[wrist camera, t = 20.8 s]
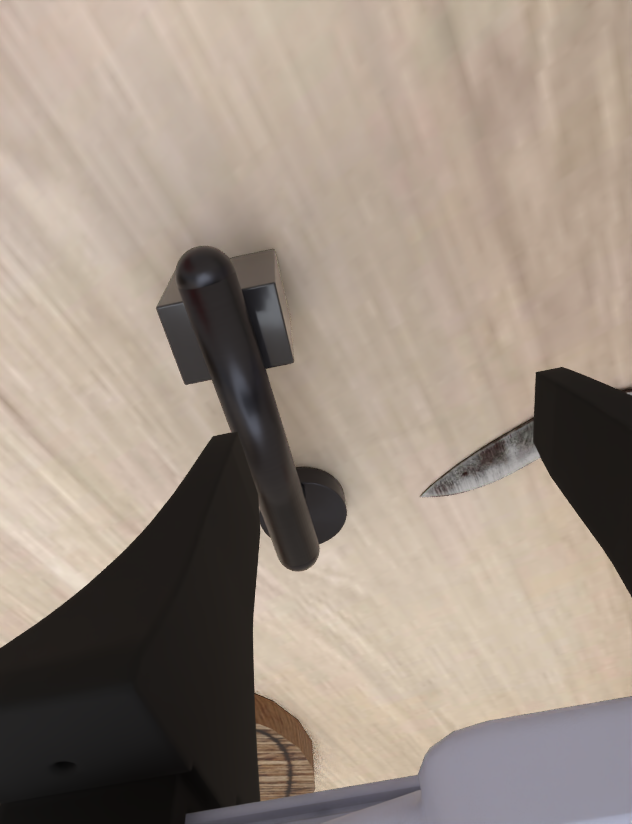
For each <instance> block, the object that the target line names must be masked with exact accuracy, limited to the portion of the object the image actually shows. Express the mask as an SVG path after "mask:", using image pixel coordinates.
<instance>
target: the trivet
mask: <svg viewBox="0 0 632 824" xmlns="http://www.w3.org/2000/svg"><path fill="white" fill-rule="evenodd" d="M255 718H256V737H257V756H258V773H259V787H260V801H266V800H272V799H278V798H284V797H289V796H295V795H301V794H307V793H313V792H314V790H315V782H314V765H313V752H312V741H311V740H310V738H309V736H308V735H307V733H306V732H305V730H304V729H303V727H302V726H301V724H300V722H299V721H298V720H297V719H296V718H294V717H293V716H292V715H290V714H289V713H288V712H286V711H285V710H284V709H282V708H281V707H280V706H278V705H277V704H276V703H274V702H273V701H271V700H268V699H266V698H264V697H261V696H259V695H256V694H255Z"/></svg>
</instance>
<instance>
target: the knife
mask: <svg viewBox="0 0 632 824" xmlns="http://www.w3.org/2000/svg"><path fill="white" fill-rule="evenodd" d="M623 392H625V393H627V394H630V395H632V389H630V390H625V391H623ZM533 428H534V418H533V419H531V420H529V421H528V422H526V423H524V424H522V425H521V426H519V427H517V428H516V429H514V430H512V431H510V432H509V433H507V434H505V435H503V436H502V437H500V438H498V439H496V440H495V441H493V442H491V443H490V444H488V445H486V446H485V447H483V448H482V449H480V450H479V451H477V452H476V453H474V454H473V455H471V456H470V457H468V458H467V459H466V460H464V461H463V462H461V463H460V464H458V465H457V466H456V467H454V468H453V469H451V470H450V471H449V472H448V473H446V474H445V475H444V476H442V477H441V478H440V479H439V480H437V481H436V482H435V483H434V484H432V485H431V486H430V487H429V488H428V489H427V490H426V491H425V492H424V493H423V494H422V496H421V497H438V496H448V495H454V494H459V493H463V492H466V491H470V490H473V489H476V488H479V487H482V486H485V485H487V484H490V483H492V482H495V481H497V480H499V479H502V478H504V477H506V476H508V475H510V474H512V473H514V472H515V471H517V470H519V469H521V468H523V467H525V466H526V465H528V464H530V463H532V462H533V461H535V460H537V459H538V458H540V455H539V453H538V451H537V449H536V447H535V445H534V443H533Z"/></svg>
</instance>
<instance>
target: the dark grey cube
mask: <svg viewBox="0 0 632 824" xmlns="http://www.w3.org/2000/svg"><path fill="white" fill-rule="evenodd" d="M229 259H230V260H231V262H232V263H233V265H234V268H235V271H236V274H237V277H238V280H239V284H240V287H241V290H242V293H243V297H244V300H245V303H246V307H247V310H248V313H249V316H250V320H251V323H252V326H253V330H254V333H255V336H256V339H257V343H258V346H259V349H260V352H261V356H262V359H263V362H264V366H265V369H266V368H271V367H276V366H281V365H286V364H291V363H294V353H293V340H292V327H291V317H290V312H289V308H288V304H287V299H286V295H285V291H284V286H283V282H282V278H281V273H280V269H279V265H278V260H277V256H276V252H275V249H270V250H265V251H260V252H256V253H251V254H246V255H242V256H237V257H232V258H229ZM175 271H176V270H175ZM175 271H174V273H173V275H172V277H171V279H170V281H169V283H168V285H167V287H166V289H165V291H164V293H163V295H162V297H161V299H160V301H159V303H158V305H157V307H156V310H157V312H158V315H159V318H160V320H161V323H162V326H163V328H164V331H165V334H166V336H167V339H168V342H169V344H170V347H171V350H172V352H173V355H174V358H175V360H176V363H177V366H178V368H179V371H180V373H181V376H182V379H183V381H184V384H185V385H188V384H193V383H197V382H202V381H207V380H212V379H211V376H210V373H209V371H208V368H207V365H206V363H205V360H204V357H203V355H202V352H201V349H200V347H199V344H198V341H197V339H196V336H195V333H194V331H193V328H192V325H191V323H190V320H189V317H188V314H187V312H186V309H185V306H184V304H183V301H182V298H181V296H180V293H179V290H178V288H177V284H176V281H175Z"/></svg>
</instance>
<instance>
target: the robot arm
mask: <svg viewBox="0 0 632 824" xmlns="http://www.w3.org/2000/svg"><path fill="white" fill-rule="evenodd" d="M533 443H534V445H535V447H536V449H537V451H538V453H539V455H540V457H541V459H542V461H543V463H544V465H545V467H546V469H547V470H548V472H549V474H550V476H551V477H552V479H553V480H554V482H555V483H556V485H557V486H558V487H559V489H560V490H561V492H562V493H563V494H564V496H565V497H566V499H567V500H568V501H569V503H570V504H571V506H572V507H573V508H574V510H575V511H576V512H577V514H578V515H579V517H580V518H581V519H582V521H583V522H584V523H585V525H586V526H587V528H588V529H589V530H590V532H591V533H592V535H593V536H594V537H595V539H596V540H597V541H598V543H599V544H600V546H601V547H602V548H603V550H604V551H605V553H606V554H607V556H608V557H609V559H610V561H611V562H612V564H613V565H614V567H615V569H616V570H617V572H618V574H619V576H620V577H621V579H622V581H623V583H624V584H625V586H626V588H627V590H628V591H629V593H630V595H631V597H632V395H630V394H627V393H625V392H623V391H620V390H618V389H615V388H613V387H611V386H608V385H606V384H604V383H601V382H599V381H597V380H594V379H592V378H590V377H587V376H585V375H582V374H580V373H577V372H575V371H572V370H569V369H566V368H563V367H560V368H555V369H550V370H545V371H540V372H536V383H535V406H534V428H533ZM259 540H260V514H259V497H258V492H257V489H256V486H255V483H254V480H253V477H252V474H251V471H250V468H249V465H248V462H247V459H246V456H245V453H244V450H243V447H242V444H241V441H240V438H239V435H238V432H232V433H227V434H222V435H217V436H213V437H212V438H211V440H210V441H209V443H208V444H207V446H206V447H205V448H204V450H203V451H202V453H201V454H200V456H199V457H198V459H197V460H196V462H195V463H194V465H193V466H192V468H191V469H190V471H189V472H188V474H187V475H186V477H185V478H184V480H183V481H182V482H181V484H180V485H179V487H178V488H177V489H176V491H175V492H174V494H173V495H172V496H171V497H170V499H169V500H168V501H167V503H166V504H165V505H164V506H163V508H162V509H161V510H160V511H159V513H158V514H157V515H156V517H155V518H154V519H153V520H152V521H151V523H150V524H149V525H148V526H147V527H146V528H145V529H144V530H143V532H142V533H141V534H140V535H139V536H138V537H137V538H136V539H135V540H134V541H133V542H132V543H131V544H130V545H129V546H128V547H127V548H126V550H125V551H123V552H122V553H121V554H120V555H119V556H118V557H117V558H116V559H115V560H114V561H113V562H112V563H111V564H110V565H108V566H107V567H106V568H105V569H104V570H103V571H102V572H101V573H100V574H99V575H97V576H96V577H95V578H94V579H93V580H92V581H91V582H90V583H89V584H87V585H86V586H85V587H84V588H83V589H81V590H80V591H79V592H78V593H76V594H75V595H74V596H73V597H71V598H70V599H69V600H68V601H66V602H65V603H64V604H63V605H61V606H60V607H59V608H57V609H56V610H55V611H53V612H52V613H51V614H49V615H48V616H47V617H45V618H44V619H42V620H41V621H40V622H38V623H37V624H36V625H34V626H33V627H31V628H30V629H28V630H27V631H25V632H24V633H22V634H21V635H19V636H18V637H16V638H15V639H13V640H12V641H10V642H9V643H7V644H6V645H4V646H3V647H1V648H0V824H632V696H630V697H624V698H618V699H612V700H606V701H600V702H595V703H589V704H583V705H577V706H571V707H565V708H559V709H554V710H548V711H542V712H536V713H530V714H524V715H519V716H513V717H507V718H501V719H495V720H489V721H485V722H482V723H479V724H475V725H472V726H469V727H466V728H463V729H459V730H456V731H453V732H452V733H450V734H449V735H447V736H446V737H444V738H443V739H442V740H440V741H439V742H437V743H436V744H435V745H433V746H432V747H430V748H429V750H428V751H427V753H426V754H425V757H424V759H423V762H422V765H421V767H420V770H419V773H418V775H415V776H409V777H403V778H397V779H391V780H385V781H379V782H373V783H367V784H361V785H355V786H349V787H343V788H337V789H331V790H325V791H319V792H313V793H307V794H301V795H295V796H289V797H284V798H278V799H272V800H266V801H260V787H259V773H258V756H257V737H256V718H255V693H254V663H253V613H254V601H255V589H256V577H257V565H258V553H259Z"/></svg>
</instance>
